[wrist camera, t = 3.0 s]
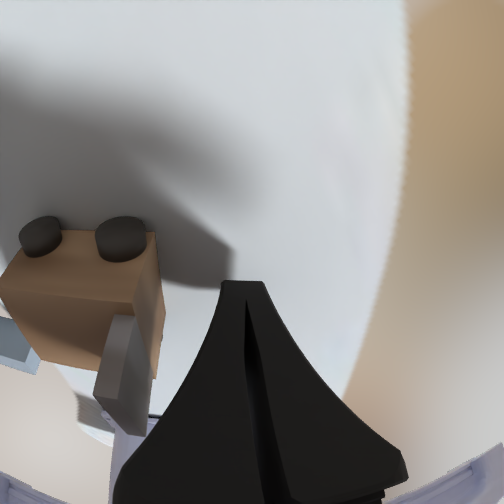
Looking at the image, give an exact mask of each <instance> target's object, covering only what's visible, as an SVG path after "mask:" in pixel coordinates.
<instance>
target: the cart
mask: <svg viewBox="0 0 504 504" xmlns="http://www.w3.org/2000/svg"><path fill="white" fill-rule="evenodd" d="M19 240H20V243H21V245H22V248H21V249H20V250H19V252H18V253H17V254H16V256H15V257H14V258H13V260H12V261H11V263H10V264H9V265H8V267H7V268H6V270H5V271H4V273H3V274H2V276H1V277H0V298H1V300H2V301H3V303H4V305H5V307H6V308H7V310H8V312H9V313H10V315H11V317H12V318H13V320H14V322H15V323H16V325H17V326H18V328H19V329H20V331H21V332H22V334H23V335H24V337H25V338H26V340H27V341H28V343H29V344H30V346H31V347H32V348H33V350H34V351H35V352H36V354H37V355H38V357H39V358H40V359H41V360H44V361H48V362H52V363H57V364H61V365H66V366H70V367H75V368H80V369H86V370H91V371H97V372H98V374H97V378H96V382H95V386H94V391H93V396H94V397H95V399H96V400H97V401H98V402H99V404H100V405H101V406H102V407H103V408H104V409H105V411H106V412H107V413H108V414H109V415H110V416H111V417H112V419H113V420H114V421H115V422H116V423H117V424H118V425H119V426H120V427H121V428H122V429H123V431H124V432H125V433H126V434H127V435H133V436H140V437H146V434H147V423H148V413H149V404H150V395H151V387H152V380H153V379H156V375H157V367H158V360H159V353H160V346H161V341H162V338H163V327H164V321H165V315H166V311H165V305H164V298H163V292H162V285H161V278H160V271H159V264H158V256H157V247H156V238H155V232H145V225H144V223H143V222H142V221H141V220H140V219H138V218H135V217H128V216H125V217H117V218H113V219H110V220H108V221H106V222H104V223H102V224H101V225H100V226H99V227H98V228H97V229H96V230H60V226H59V222H58V220H57V219H56V218H55V217H51V216H47V217H41V218H38V219H35V220H33V221H31V222H30V223H28V224H27V225H25V226H24V227H23V228H22V230H21V231H20V233H19Z"/></svg>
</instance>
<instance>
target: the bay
mask: <svg viewBox="0 0 504 504" xmlns="http://www.w3.org/2000/svg"><path fill="white" fill-rule="evenodd" d="M40 361H41V359H40V358H39V357H38V355H37V354H36V352H35V351H34V350H33V348H32V347H31V346H30V344H29V343H28V341H27V340H26V338H25V337H24V335H23V334H22V332H21V331H20V329H19V328H18V326H17V325H16V323H15V322H14V320H13V319H9V318H5V317H1V316H0V364H2V365H5V366H8V367H11V368H14V369H17V370H21V371H23V372H27V373H30V374H33V375H36V372H37V369H38V366H39V363H40Z"/></svg>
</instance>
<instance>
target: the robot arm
mask: <svg viewBox="0 0 504 504" xmlns="http://www.w3.org/2000/svg"><path fill="white" fill-rule="evenodd" d="M101 416H102V417H103V418H104V419H105V420H106V421H107V422H108V423H109V424H110V425H111V426H112V427H113V428H114V429H115V435H114V443H113V452H112V461H111V472H110V485H109V501H108V504H497V503H498V502H499V501H500V500H501V499H502V498H504V448H503V444H502V443H499V444H497V445H495V446H494V447H492V448H490V449H489V450H487V451H486V452H484V453H482V454H480V455H479V456H477V457H475V458H472V459H470V460H468V461H466V462H464V463H462V464H461V465H459V466H457V467H455V468H454V469H452V470H450V471H448V472H447V474H446V475H444V476H442V477H440V478H438V479H436V480H434V481H432V482H430V483H428V484H426V485H424V486H421V487H419V488H417V489H415V490H412V491H410V492H408V493H405V494H403V495H400V496H398V497H395V498H393V499H390V500H387V501H385V502H382V501H381V499H382V498H384V497H385V492H384V489H387V488H390V487H392V486H395V485H398V484H400V483H403V482H405V481H407V479H408V478H409V477H408V473H407V469H406V465H405V462H404V459H403V457H402V454H401V451H400V450H399V449H397V448H396V447H394V446H393V445H392V444H390V443H389V442H388V441H386V440H385V439H384V438H382V437H381V436H380V435H378V434H377V433H376V432H375V431H373V430H372V429H371V428H370V427H369V426H368V425H367V424H365V423H364V422H363V421H362V420H361V419H360V418H358V417H357V416H356V414H354V413H353V412H352V411H351V410H350V409H349V408H348V407H347V406H346V405H345V404H344V403H343V402H342V401H341V400H340V399H339V398H338V397H337V395H336V394H335V393H334V392H333V391H332V390H331V389H330V388H329V386H328V385H327V384H326V383H325V382H324V381H323V379H322V378H321V377H320V376H319V374H318V373H317V372H316V371H315V369H314V368H313V367H312V365H311V364H310V363H309V361H308V360H307V359H306V357H305V356H304V354H303V353H302V351H301V350H300V349H299V347H298V346H297V344H296V342H295V341H294V339H293V338H292V336H291V335H290V333H289V331H288V329H287V328H286V326H285V324H284V323H283V321H282V319H281V317H280V316H279V314H278V312H277V310H276V308H275V306H274V304H273V302H272V300H271V298H270V296H269V294H268V291H267V289H266V287H265V284H264V283H263V282H262V281H236V280H224V281H223V282H221V289H220V295H219V299H218V303H217V306H216V310H215V313H214V316H213V318H212V321H211V324H210V327H209V329H208V332H207V334H206V337H205V339H204V341H203V343H202V346H201V348H200V350H199V352H198V355H197V357H196V359H195V361H194V363H193V365H192V367H191V368H190V370H189V372H188V374H187V376H186V378H185V380H184V381H183V383H182V385H181V386H180V388H179V390H178V391H177V393H176V395H175V396H174V398H173V400H172V401H171V403H170V404H169V406H168V407H167V409H166V410H165V412H164V413H163V415H162V416H161V418H160V419H155V418H148V423H147V434H146V437H140V436H133V435H127V434H126V433H125V432H124V431H123V429H122V428H121V427H120V426H119V425H118V424H117V423H116V422H115V421H114V420H113V419H112V417H111V416H110V415H109V414H108V413H107V412H106V411H102V412H101ZM0 504H69V503H67V502H64V501H61V500H59V499H56V498H54V497H51V496H48V495H46V494H44V493H41V492H39V491H37V490H35V489H33V488H32V487H31V486H30V485H28V484H26V483H24V482H22V481H20V480H18V479H16V478H14V477H12V476H10V475H8V474H5V473H3V472H1V471H0Z"/></svg>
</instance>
